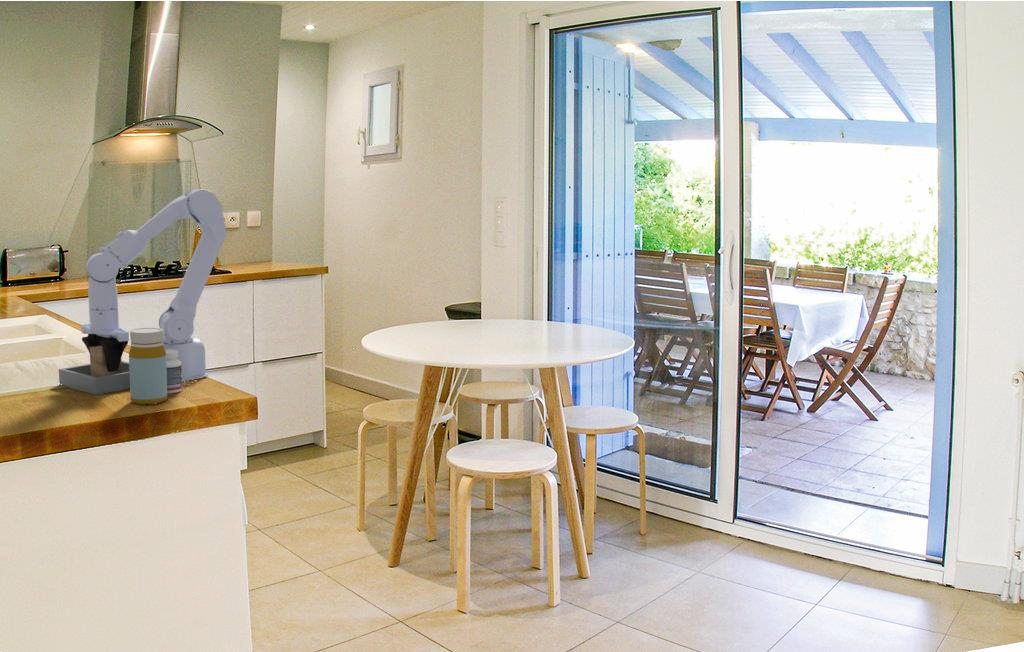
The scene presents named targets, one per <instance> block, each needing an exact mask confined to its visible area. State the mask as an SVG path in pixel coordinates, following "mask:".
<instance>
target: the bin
mask: <svg viewBox="0 0 1024 652" xmlns="http://www.w3.org/2000/svg"><path fill="white" fill-rule="evenodd" d="M121 364H122V373H119V374H114V375H108V376H103V377H97V378H96V377H93V376H91V368H90V363H87V364H82V365H75V366H70V367H65V368H64V367H63V368H59V369H58V380H59V381H58V382H59V383H60V384H62V385H63V387H66V388H70V389H74V390H78V391H80V392H84V393H87V394H90V395H96V396H99V395H103V394H108V393H113V392H117V391H122V390H127V389H130V372H129V361H128V362H127V361H125V360H121ZM59 383H58V384H59ZM60 384H59V385H60ZM62 385H61V386H62Z"/></svg>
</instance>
